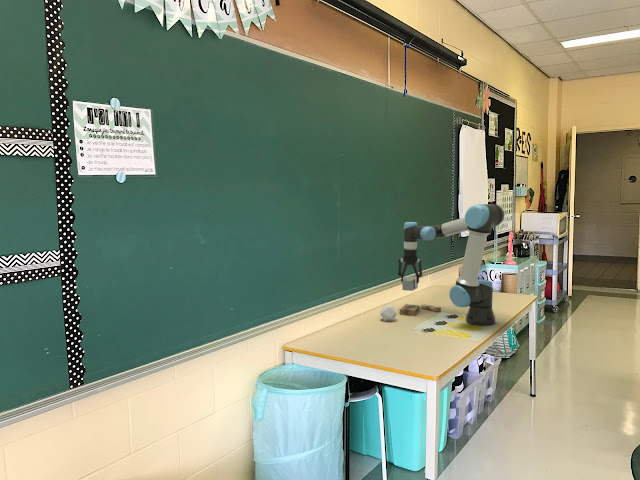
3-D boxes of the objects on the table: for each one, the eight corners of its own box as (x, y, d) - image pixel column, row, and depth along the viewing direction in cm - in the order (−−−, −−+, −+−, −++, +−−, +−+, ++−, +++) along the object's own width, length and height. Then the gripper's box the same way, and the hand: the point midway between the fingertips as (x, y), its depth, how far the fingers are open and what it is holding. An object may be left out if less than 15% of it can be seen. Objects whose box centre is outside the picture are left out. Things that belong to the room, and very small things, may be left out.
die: (392, 324, 270) (401, 308, 272) (377, 315, 271) (386, 300, 273) (390, 326, 278) (398, 310, 280) (376, 317, 279) (384, 302, 282)
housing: (417, 287, 295) (417, 277, 294) (412, 290, 286) (412, 279, 285) (407, 287, 298) (407, 276, 297) (402, 289, 289) (402, 279, 288)
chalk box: (419, 309, 301) (419, 304, 301) (415, 310, 298) (416, 305, 298) (407, 307, 306) (407, 302, 306) (404, 308, 304) (404, 303, 304)
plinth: (419, 310, 297) (419, 305, 297) (415, 315, 285) (415, 310, 285) (404, 309, 300) (404, 304, 300) (399, 314, 288) (399, 309, 288)
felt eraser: (440, 311, 296) (440, 307, 296) (436, 312, 293) (436, 308, 293) (424, 308, 305) (424, 304, 305) (420, 309, 303) (420, 305, 302)
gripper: (428, 248, 289) (427, 288, 291) (395, 247, 296) (395, 286, 299) (425, 250, 282) (425, 290, 284) (392, 248, 289) (392, 288, 292)
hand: (410, 288), depth 291 cm, fingers closed on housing, 6 cm apart
